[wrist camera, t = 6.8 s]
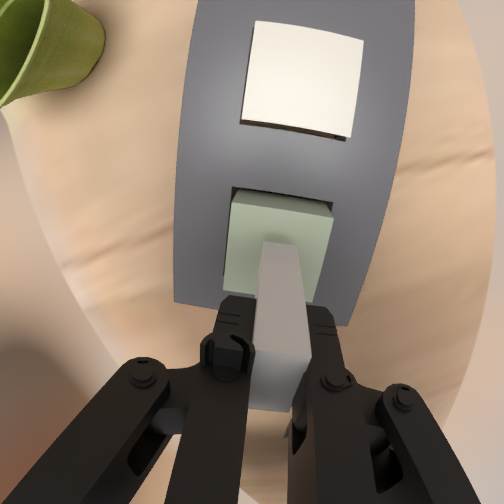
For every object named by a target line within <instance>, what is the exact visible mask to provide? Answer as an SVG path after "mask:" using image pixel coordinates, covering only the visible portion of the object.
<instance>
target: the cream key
mask: <svg viewBox="0 0 504 504" xmlns="http://www.w3.org/2000/svg"><path fill="white" fill-rule="evenodd" d="M363 44H364V41H363V40H359V39H356V38H352V37H348V36H344V35H340V34H336V33H332V32H327V31H323V30H318V29H313V28H307V27H302V26H296V25H289V24H282V23H274V22H265V21H255V28H254V34H253V41H252V47H251V54H250V61H249V68H248V75H247V82H246V89H245V97H244V104H243V112H242V119H245V120H253V121H261V122H269V123H276V124H282V125H289V126H295V127H300V128H306V129H311V130H317V131H322V132H327V133H331V134H336V135H341V136H345V137H349V138H350V137H351V132H352V126H353V120H354V113H355V107H356V100H357V93H358V86H359V79H360V71H361V62H362V53H363Z"/></svg>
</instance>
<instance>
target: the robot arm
mask: <svg viewBox="0 0 504 504" xmlns="http://www.w3.org/2000/svg"><path fill="white" fill-rule="evenodd" d="M335 327H336V325H335V321H334V317H333V315H332V314H331V313H330V311H329V310H328V309H327V308H326V307H323V306H314V305H306V304H305V296H304V289H303V282H302V275H301V268H300V261H299V254H298V248H297V246H293V245H287V244H280V243H273V242H266V241H264V242H263V248H262V254H261V261H260V267H259V273H258V279H257V286H256V292H255V298H248V297H241V296H234V295H228V296H227V297H226V298H225V299H224V300H223V301H222V302H221V304H220V308H219V311H218V315H217V318H216V322H215V326H214V329H213V333H211V334H209V335H207V336H206V337H204V339H203V340H202V342H201V344H200V362H199V363H198V364H196V365H194V366H191V367H188V368H181V369H166V367H165V366H164V364H162V363H161V362H159V361H158V360H156V359H153V358H149V357H137V358H134V359H131V360H129V361H127V362H126V363H125V364H123V365H122V366H121V367H120V368H119V369H118V371H117V372H116V373H115V374H114V375H113V376H112V377H111V378H110V379H109V380H108V382H107V383H106V384H105V385H104V386H103V387H102V388H101V389H100V390H99V392H98V393H97V394H96V395H95V396H94V397H93V398H92V399H91V400H90V402H89V403H88V404H87V405H86V406H85V407H84V408H83V409H82V411H81V412H80V413H79V414H78V415H77V416H76V418H75V419H74V420H73V421H72V422H71V423H70V424H69V425H68V426H67V428H66V429H65V430H64V431H63V432H62V434H60V436H59V437H58V438H57V439H56V440H55V441H54V443H53V444H52V445H51V446H50V447H49V448H48V450H47V451H46V452H45V453H44V454H43V455H42V456H41V457H40V459H39V460H38V461H37V462H36V463H35V464H34V466H33V467H32V468H31V469H30V470H29V472H28V473H27V474H26V475H25V476H24V478H23V479H22V480H21V481H20V482H19V483H18V485H17V486H16V487H15V488H14V489H13V491H12V492H11V493H10V494H9V496H8V497H7V498H6V499H5V500H4V501H3V503H2V504H129V503H130V501H131V500H132V498H133V497H134V495H135V494H136V492H137V491H138V489H139V488H140V486H141V485H142V483H143V482H144V480H145V478H146V477H147V475H148V474H149V472H150V471H151V469H152V468H153V466H154V464H155V463H156V461H157V460H158V458H159V456H160V455H161V453H162V452H163V450H164V449H165V447H166V446H167V444H168V442H169V441H170V439H171V438H172V436H173V435H174V434H182V435H181V439H180V443H179V446H178V450H177V454H176V458H175V462H174V466H173V470H172V474H171V478H170V482H169V486H168V490H167V494H166V498H165V502H164V504H237V503H238V494H239V486H240V477H241V468H242V459H243V450H244V441H245V432H246V422H247V413H248V408H250V409H258V410H267V411H278V412H289V411H290V408H291V406H292V418H291V421H290V423H289V425H288V427H287V429H286V431H285V433H284V437H283V438H287V437H288V492H287V504H481V503H480V501H479V499H478V497H477V495H476V493H475V491H474V489H473V487H472V485H471V483H470V481H469V479H468V477H467V476H466V474H465V472H464V470H463V468H462V466H461V464H460V462H459V460H458V459H457V457H456V455H455V453H454V451H453V450H452V448H451V446H450V444H449V443H448V441H447V439H446V438H445V436H444V434H443V432H442V431H441V429H440V427H439V425H438V424H437V422H436V420H435V419H434V417H433V415H432V414H431V412H430V410H429V409H428V407H427V406H426V404H425V402H424V401H423V399H422V398H421V396H420V395H419V393H418V392H417V391H416V390H415V389H413V388H412V387H410V386H408V385H405V384H401V383H400V384H392V385H390V386H388V387H387V388H386V390H385V391H384V392H381V391H378V390H374V389H370V388H367V387H364V386H362V385H360V384H358V383H357V382H356V379H355V377H354V375H353V374H352V373H351V372H350V371H349V370H347V369H345V366H344V361H343V356H342V352H341V347H340V343H339V338H338V337H337V335H338V334H337V330H336V328H335Z"/></svg>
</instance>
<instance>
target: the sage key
mask: <svg viewBox="0 0 504 504" xmlns="http://www.w3.org/2000/svg"><path fill="white" fill-rule="evenodd" d="M333 220H334V217H333V216H332V214H331V212H330V210H329V209H328V207H327V205H326V203H325V202H320V201H314V200H308V199H302V198H296V197H290V196H284V195H277V194H271V193H264V192H257V191H250V190H242V189H238V191H237V193H236V195H235V197H234V199H233V201H232V204H231V213H230V222H229V232H228V242H227V252H226V262H225V273H224V284H223V290H226V291H233V292H239V293H246V294H253V295H255V292H256V286H257V279H258V273H259V267H260V261H261V254H262V248H263V242H264V241H266V242H273V243H280V244H287V245H293V246H297V248H298V254H299V261H300V268H301V275H302V282H303V289H304V296H305V302H312V301H313V297H314V294H315V290H316V287H317V283H318V279H319V276H320V272H321V268H322V265H323V261H324V257H325V253H326V249H327V245H328V241H329V237H330V233H331V229H332V225H333Z"/></svg>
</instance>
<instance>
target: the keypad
mask: <svg viewBox="0 0 504 504" xmlns="http://www.w3.org/2000/svg"><path fill="white" fill-rule="evenodd" d="M255 21H265V22H274V23H282V24H289V25H296V26H302V27H307V28H313V29H318V30H323V31H327V32H332V33H336V34H340V35H344V36H348V37H352V38H356V39H359V40H363V41H364V44H363V53H362V62H361V71H360V79H359V86H358V93H357V100H356V107H355V113H354V120H353V126H352V132H351V137H350V138H349V137H345V136H341V135H336V134H335V138H329V137H324V136H319V135H314V134H309V133H303V132H298V131H292V130H286V129H279V128H272V127H265V126H258V125H250V124H245V119H242V112H243V104H244V97H245V89H246V82H247V75H248V68H249V61H250V54H251V47H252V41H253V34H254V28H255ZM414 22H415V0H198V4H197V9H196V14H195V19H194V25H193V30H192V36H191V42H190V48H189V54H188V61H187V68H186V75H185V83H184V91H183V99H182V108H181V117H180V128H179V139H178V151H177V166H176V182H175V204H174V246H173V274H174V302H177V303H182V304H188V305H193V306H199V307H205V308H211V309H217V310H219V308H220V304H221V302H222V301H223V300H224V299H225V298H226V297H227V296H228V295H234V296H241V297H248V298H255V295H253V294H246V293H239V292H233V291H226V290H223V284H224V273H225V262H226V252H227V242H228V232H229V222H230V213H231V204H232V201H233V199H234V197H235V195H236V193H237V187H241V188H248V189H256V190H262V191H269V192H276V193H282V194H289V195H295V196H301V197H307V198H313V199H318V200H323V201H322V202H325V203H326V205H327V207H328V209H329V210H330V212H331V214H332V216H333V217H334V220H333V225H332V229H331V233H330V237H329V241H328V245H327V249H326V253H325V257H324V261H323V265H322V268H321V272H320V276H319V279H318V283H317V287H316V290H315V294H314V297H313V301H312V302H305V304H306V305H314V306H323V307H326V308H327V309H328V310H329V311H330V313H331V314H332V315H333V317H334V321H335V325H339V326H347V325H348V323H349V320H350V318H351V315H352V312H353V310H354V307H355V305H356V302H357V299H358V296H359V294H360V291H361V288H362V285H363V282H364V280H365V277H366V274H367V271H368V268H369V265H370V262H371V259H372V256H373V252H374V249H375V246H376V243H377V239H378V236H379V233H380V229H381V226H382V222H383V218H384V215H385V211H386V207H387V204H388V200H389V196H390V192H391V188H392V183H393V179H394V175H395V170H396V166H397V161H398V156H399V151H400V146H401V141H402V135H403V130H404V124H405V117H406V111H407V104H408V97H409V89H410V80H411V70H412V59H413V45H414Z"/></svg>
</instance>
